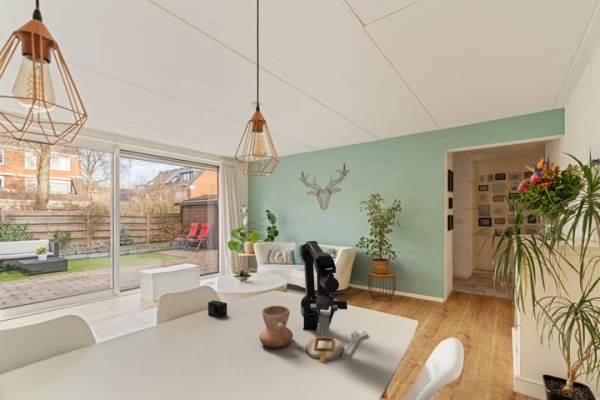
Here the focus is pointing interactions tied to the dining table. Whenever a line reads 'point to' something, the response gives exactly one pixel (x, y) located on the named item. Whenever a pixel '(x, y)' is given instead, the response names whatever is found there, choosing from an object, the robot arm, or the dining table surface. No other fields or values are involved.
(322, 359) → the turntable base
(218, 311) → the digital camera
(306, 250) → the robot arm
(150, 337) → the dining table surface
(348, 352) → the adjustable wrench
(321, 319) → the link block
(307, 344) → the index disc
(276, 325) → the ceramic jug
